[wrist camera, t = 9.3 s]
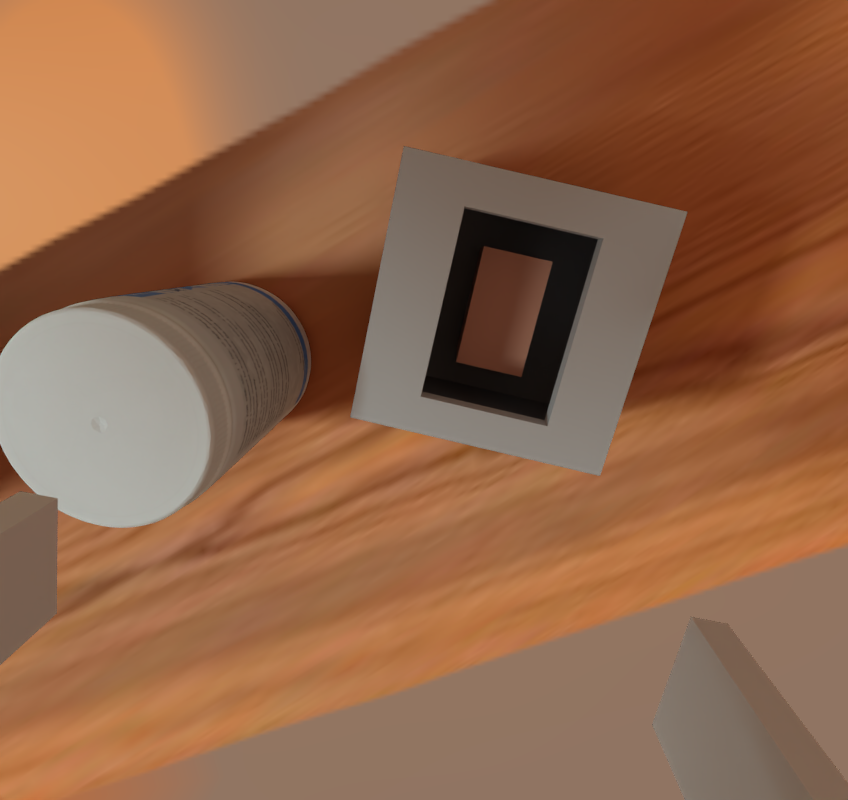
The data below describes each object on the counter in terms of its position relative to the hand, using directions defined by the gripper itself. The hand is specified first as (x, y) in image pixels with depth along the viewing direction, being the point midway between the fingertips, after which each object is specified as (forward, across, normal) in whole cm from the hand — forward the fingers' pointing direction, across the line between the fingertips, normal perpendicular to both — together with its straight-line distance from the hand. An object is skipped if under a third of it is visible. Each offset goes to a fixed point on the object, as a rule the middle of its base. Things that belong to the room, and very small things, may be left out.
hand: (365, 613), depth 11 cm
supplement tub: (+25, -12, -1) cm, 28 cm away
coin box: (+25, +4, +5) cm, 25 cm away
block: (+24, +4, +5) cm, 25 cm away
